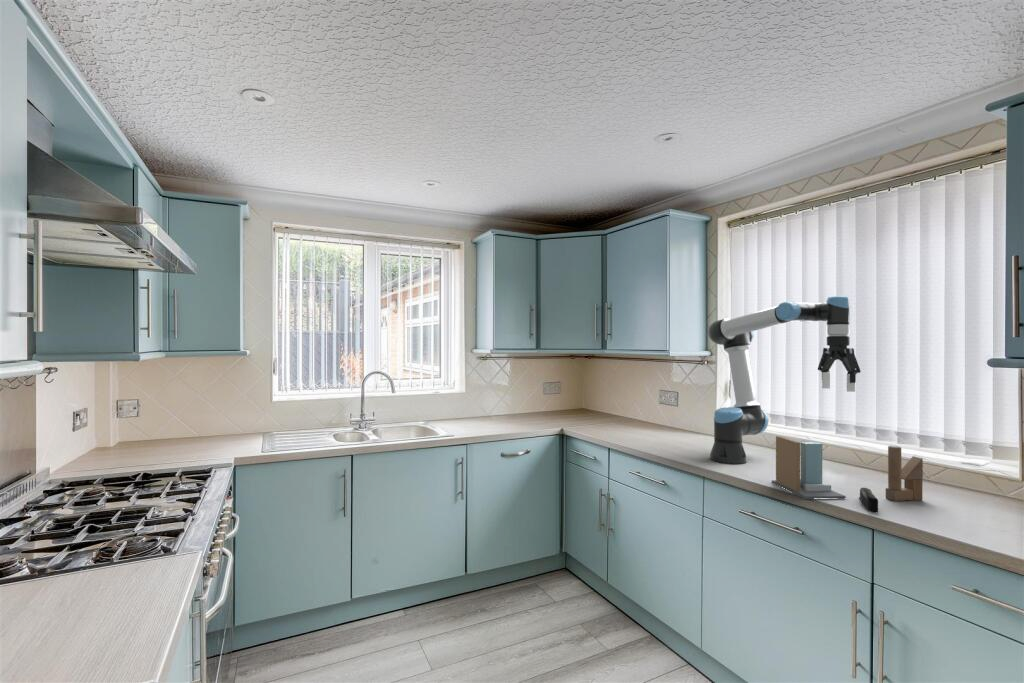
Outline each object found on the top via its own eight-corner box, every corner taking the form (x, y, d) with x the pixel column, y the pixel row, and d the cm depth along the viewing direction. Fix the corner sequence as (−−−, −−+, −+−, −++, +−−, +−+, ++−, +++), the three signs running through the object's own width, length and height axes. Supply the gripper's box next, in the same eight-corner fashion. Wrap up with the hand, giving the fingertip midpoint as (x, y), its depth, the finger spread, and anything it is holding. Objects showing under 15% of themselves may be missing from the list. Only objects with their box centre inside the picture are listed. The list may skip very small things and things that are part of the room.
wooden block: (923, 500, 166) (923, 447, 166) (894, 501, 165) (894, 447, 165) (912, 497, 170) (912, 444, 170) (884, 498, 169) (884, 445, 169)
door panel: (800, 486, 178) (800, 442, 179) (816, 486, 179) (816, 442, 179) (806, 489, 175) (806, 443, 176) (822, 488, 176) (822, 443, 176)
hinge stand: (771, 483, 187) (771, 435, 187) (807, 482, 187) (807, 435, 188) (805, 499, 167) (805, 446, 167) (845, 499, 167) (845, 445, 168)
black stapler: (880, 498, 153) (866, 485, 167) (868, 497, 155) (856, 484, 168) (879, 514, 153) (866, 499, 167) (868, 513, 155) (856, 498, 168)
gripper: (872, 335, 181) (872, 392, 181) (825, 336, 206) (825, 387, 206) (852, 335, 181) (852, 392, 181) (808, 336, 206) (808, 387, 206)
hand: (838, 390), depth 193 cm, fingers open, 13 cm apart
